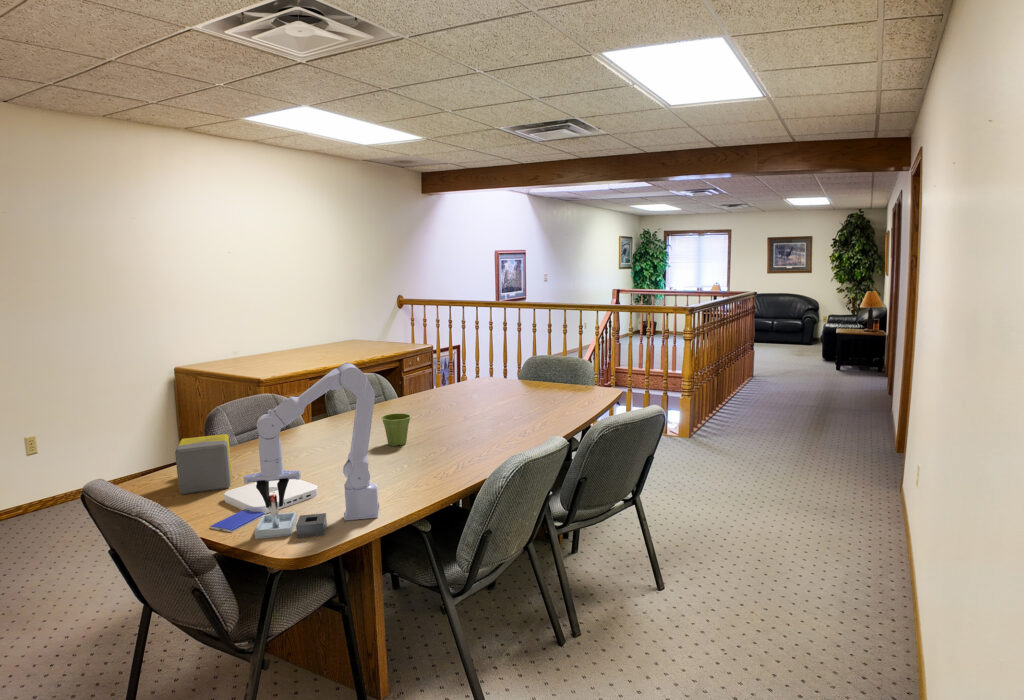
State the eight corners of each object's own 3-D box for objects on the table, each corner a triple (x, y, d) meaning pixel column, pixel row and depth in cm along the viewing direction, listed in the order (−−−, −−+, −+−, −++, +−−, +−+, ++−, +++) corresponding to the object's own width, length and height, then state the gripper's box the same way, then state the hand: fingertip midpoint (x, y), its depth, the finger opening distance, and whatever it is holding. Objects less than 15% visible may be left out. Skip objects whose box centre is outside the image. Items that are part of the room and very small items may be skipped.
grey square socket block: (326, 525, 180) (326, 513, 180) (324, 535, 173) (323, 523, 173) (300, 527, 179) (299, 515, 178) (297, 538, 172) (296, 525, 172)
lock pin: (281, 525, 179) (277, 494, 178) (279, 528, 177) (275, 496, 176) (273, 525, 179) (270, 494, 178) (271, 528, 177) (267, 497, 176)
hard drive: (243, 508, 191) (209, 525, 180) (264, 512, 188) (231, 529, 177) (244, 513, 191) (210, 530, 180) (265, 517, 188) (232, 534, 177)
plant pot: (409, 447, 252) (408, 419, 250) (379, 448, 252) (378, 420, 251) (414, 439, 264) (413, 412, 262) (386, 439, 264) (384, 413, 262)
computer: (284, 481, 218) (283, 473, 218) (322, 495, 204) (321, 486, 204) (220, 501, 201) (220, 492, 201) (257, 517, 187) (256, 508, 187)
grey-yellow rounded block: (233, 467, 234) (229, 426, 232) (230, 488, 211) (226, 444, 209) (187, 472, 228) (183, 431, 226) (179, 495, 206) (174, 450, 204)
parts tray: (297, 519, 185) (296, 512, 184) (290, 535, 174) (290, 528, 173) (263, 522, 183) (262, 515, 183) (254, 539, 172) (254, 531, 172)
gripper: (300, 451, 181) (304, 498, 182) (246, 455, 178) (250, 502, 180) (296, 459, 174) (300, 507, 176) (240, 463, 171) (244, 512, 173)
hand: (274, 505), depth 177 cm, fingers open, 3 cm apart
